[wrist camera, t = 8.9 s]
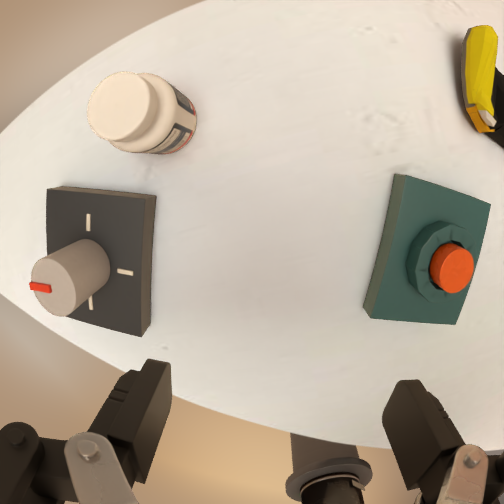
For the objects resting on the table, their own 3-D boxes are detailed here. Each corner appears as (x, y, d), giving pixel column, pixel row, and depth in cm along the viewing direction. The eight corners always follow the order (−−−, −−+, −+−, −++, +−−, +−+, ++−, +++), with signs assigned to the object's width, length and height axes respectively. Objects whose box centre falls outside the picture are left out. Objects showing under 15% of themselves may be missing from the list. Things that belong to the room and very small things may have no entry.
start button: (455, 287, 21) (465, 295, 19) (423, 282, 21) (434, 291, 19) (467, 246, 20) (479, 252, 18) (436, 239, 20) (447, 245, 18)
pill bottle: (141, 92, 21) (86, 63, 13) (201, 93, 21) (169, 56, 13) (133, 153, 23) (72, 151, 14) (192, 157, 23) (153, 152, 14)
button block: (445, 315, 26) (464, 333, 22) (362, 307, 26) (376, 328, 22) (477, 200, 22) (503, 207, 18) (394, 173, 22) (416, 176, 18)
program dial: (108, 240, 22) (68, 262, 16) (113, 291, 23) (78, 323, 18) (66, 237, 22) (24, 257, 16) (72, 285, 23) (35, 313, 18)
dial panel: (150, 324, 27) (141, 338, 24) (65, 302, 27) (52, 313, 24) (156, 195, 23) (144, 199, 21) (62, 186, 23) (45, 189, 21)
